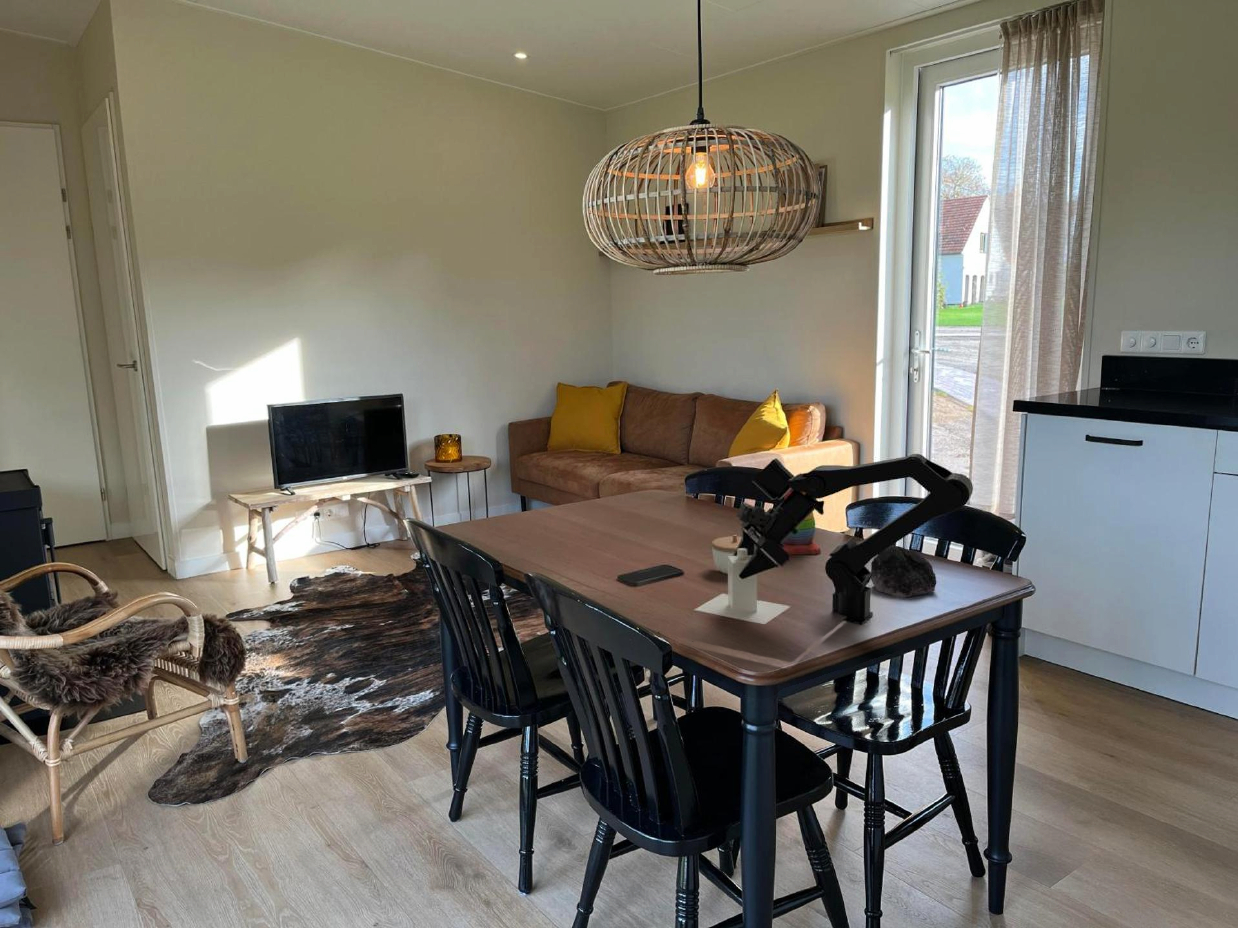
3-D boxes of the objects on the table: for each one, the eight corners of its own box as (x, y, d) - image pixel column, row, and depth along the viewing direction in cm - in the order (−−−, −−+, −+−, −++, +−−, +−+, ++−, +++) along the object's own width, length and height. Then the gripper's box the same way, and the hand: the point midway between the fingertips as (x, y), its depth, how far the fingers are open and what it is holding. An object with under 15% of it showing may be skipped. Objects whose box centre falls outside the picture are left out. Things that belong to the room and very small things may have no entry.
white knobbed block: (751, 603, 180) (751, 545, 178) (757, 611, 175) (756, 552, 173) (728, 604, 180) (727, 546, 178) (732, 612, 175) (732, 553, 173)
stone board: (790, 610, 178) (790, 606, 178) (764, 628, 169) (764, 624, 168) (722, 597, 187) (722, 593, 187) (694, 614, 178) (694, 609, 178)
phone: (686, 571, 205) (634, 583, 197) (686, 575, 205) (634, 588, 197) (666, 563, 211) (615, 575, 203) (666, 568, 212) (615, 580, 203)
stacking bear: (780, 555, 218) (780, 487, 215) (772, 545, 228) (772, 479, 225) (822, 554, 218) (823, 485, 215) (812, 543, 228) (813, 477, 225)
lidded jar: (703, 575, 204) (702, 536, 202) (728, 564, 212) (728, 527, 210) (741, 583, 197) (741, 543, 195) (766, 572, 205) (766, 533, 203)
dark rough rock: (944, 601, 183) (949, 555, 182) (881, 598, 183) (885, 551, 182) (922, 586, 197) (926, 543, 196) (863, 583, 197) (866, 540, 196)
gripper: (750, 480, 183) (699, 533, 184) (772, 499, 165) (716, 558, 166) (787, 515, 185) (736, 567, 186) (812, 537, 166) (756, 595, 168)
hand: (735, 570), depth 176 cm, fingers open, 9 cm apart
